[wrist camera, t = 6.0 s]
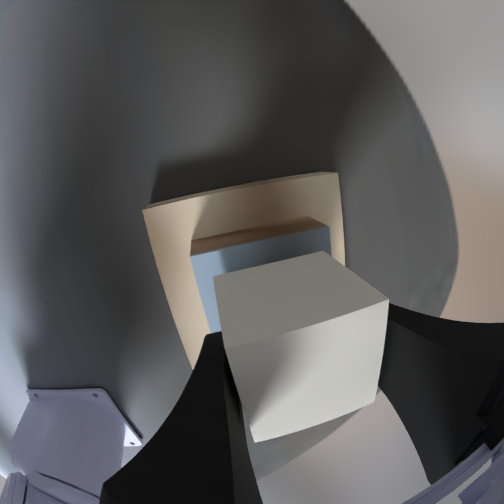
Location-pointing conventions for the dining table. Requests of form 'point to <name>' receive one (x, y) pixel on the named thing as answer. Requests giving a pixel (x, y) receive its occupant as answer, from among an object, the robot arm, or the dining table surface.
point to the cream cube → (301, 341)
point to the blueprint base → (225, 217)
